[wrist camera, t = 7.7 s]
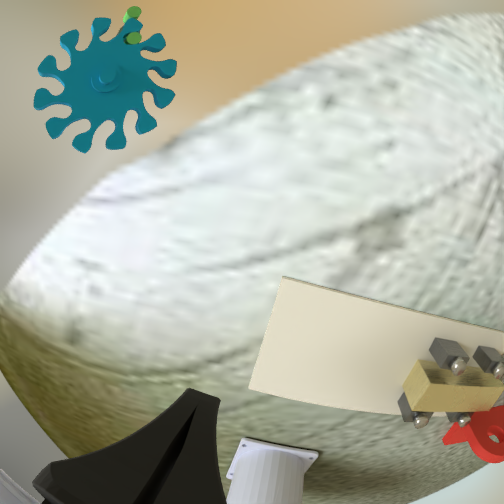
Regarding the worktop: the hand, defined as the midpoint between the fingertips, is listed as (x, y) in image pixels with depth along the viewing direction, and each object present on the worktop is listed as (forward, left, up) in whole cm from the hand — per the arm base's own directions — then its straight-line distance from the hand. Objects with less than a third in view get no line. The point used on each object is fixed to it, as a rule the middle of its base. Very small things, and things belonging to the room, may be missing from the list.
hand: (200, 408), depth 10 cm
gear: (+14, +12, -10) cm, 21 cm away
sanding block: (-2, -19, -10) cm, 22 cm away
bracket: (-8, -31, -10) cm, 34 cm away
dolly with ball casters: (-2, -19, -10) cm, 21 cm away
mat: (-2, -13, -10) cm, 17 cm away
